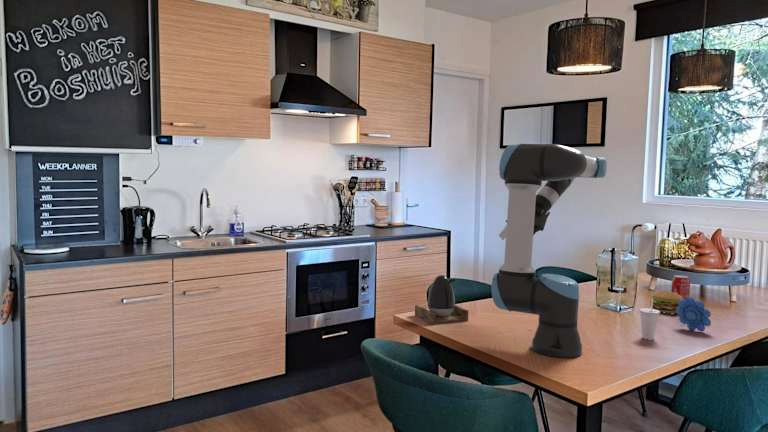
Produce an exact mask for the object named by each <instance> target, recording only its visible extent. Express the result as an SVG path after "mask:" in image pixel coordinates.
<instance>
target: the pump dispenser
mask: <svg viewBox="0 0 768 432" xmlns="http://www.w3.org/2000/svg"><path fill="white" fill-rule="evenodd" d="M456 281H457V278H456V277H454V278H448V277H447V276H446V275H443V274H441V275H440V274H439V275H437V276H436V278H434V280H433V282H432V284H431V287H430V289H429V293H428V298H427V307H428V310H429V311H431V312H433V313H435V314H436V316H439V317H445V316H448V315H450V314H451V313H452V311H453V309H454V307H455V305H456V299H455V293H454V289H453V286H452V283H454V282H456Z"/></svg>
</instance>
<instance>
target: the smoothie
mask: <svg viewBox="0 0 768 432" xmlns="http://www.w3.org/2000/svg"><path fill="white" fill-rule="evenodd" d="M650 300H651V306H650V308H643V307H642V308H640V309H639V313H640V326H641V339H643V338H644V340H647V339H648V340H649V341H653V339H654V340H655V335H656V332H657V326H658V321H659V316H660V315H661V312H660V311H658V310H655V309H653V298H651V297H650Z"/></svg>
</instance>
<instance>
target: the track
mask: <svg viewBox="0 0 768 432" xmlns="http://www.w3.org/2000/svg"><path fill="white" fill-rule="evenodd" d="M414 316H415V317H417V318H419V319H421V320H423V321H425V322H426V323H429V324H430V325H432V326H434V325H444V324H446V325H447V324H453V323H462V322H469V309H466V308H463V307H461V306H459V305H457V304H455V307H454V309H453V311H452V313H451V314H450V315H448V316H445V317H439V316H436V314H435V313H433V312H431V311H430V310H429V309H427V308H425V307H422V306H421V305H418V304H416V305H414Z"/></svg>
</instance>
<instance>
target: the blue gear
mask: <svg viewBox="0 0 768 432" xmlns="http://www.w3.org/2000/svg"><path fill="white" fill-rule="evenodd" d="M679 305H680V307H677V308H676V312H677V314H676V315H679V318H678V321H679V322H680V323H681V324H683V325H686V327H687V329H688V330H689V331H692V330H693V331H695V330H697V331H699V332H704V331H705V329H706V327H710V326H711V325H712V323H711V322H712V321H711V320H710V317H711V316H712V315H711V312H710V310H709V309H707V308H705V303H704V302H703V301H701V300H697V301H696V300H695V299H694V298H693V297H691V296H689V297H688V298H687V299H686V301H685V300H683V299H682V300H680V301H679Z"/></svg>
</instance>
